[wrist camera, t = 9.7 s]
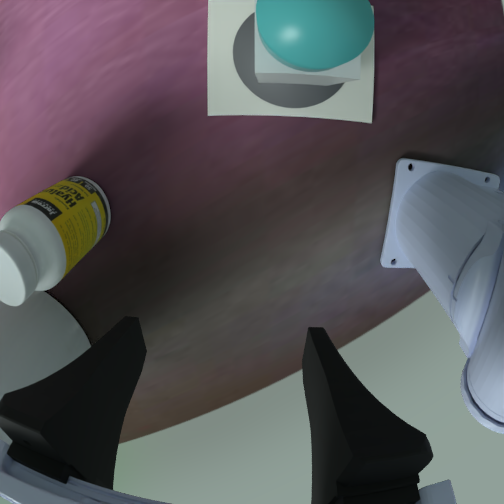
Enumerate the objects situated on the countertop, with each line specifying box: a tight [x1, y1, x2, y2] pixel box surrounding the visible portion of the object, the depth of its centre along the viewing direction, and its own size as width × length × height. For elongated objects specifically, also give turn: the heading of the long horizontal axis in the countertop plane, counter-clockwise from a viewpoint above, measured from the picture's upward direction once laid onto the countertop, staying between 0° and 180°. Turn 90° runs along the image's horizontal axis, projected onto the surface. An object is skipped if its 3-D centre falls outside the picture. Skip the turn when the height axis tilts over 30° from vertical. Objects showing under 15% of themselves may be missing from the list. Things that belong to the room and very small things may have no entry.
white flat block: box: [208, 0, 374, 123], centre depth 16 cm, size 10×8×1 cm
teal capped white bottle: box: [255, 0, 374, 86], centre depth 11 cm, size 4×4×9 cm
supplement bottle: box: [0, 176, 111, 306], centre depth 17 cm, size 5×5×10 cm
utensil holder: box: [0, 291, 91, 445], centre depth 20 cm, size 15×15×18 cm
